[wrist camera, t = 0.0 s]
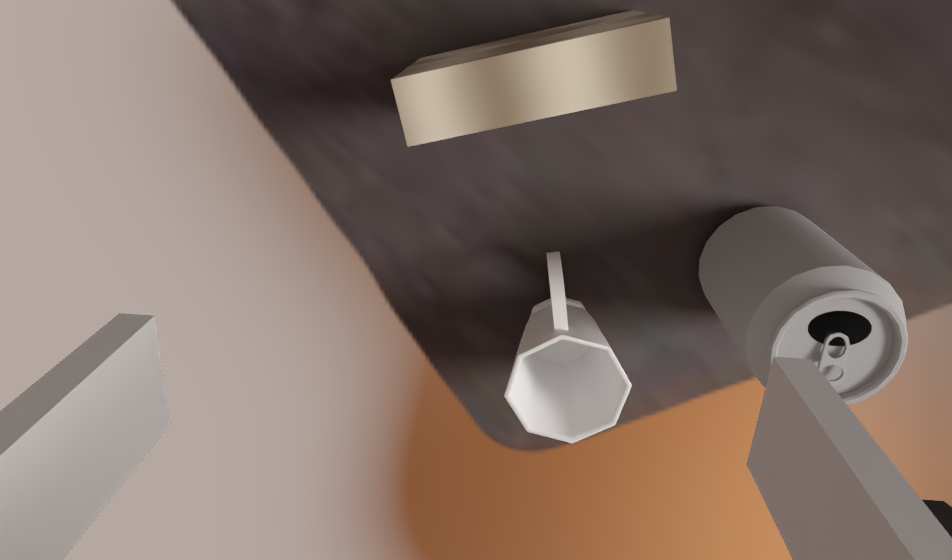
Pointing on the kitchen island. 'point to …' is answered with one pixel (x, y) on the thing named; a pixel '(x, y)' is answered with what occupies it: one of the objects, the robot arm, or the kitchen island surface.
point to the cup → (565, 369)
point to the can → (803, 301)
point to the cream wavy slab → (535, 76)
